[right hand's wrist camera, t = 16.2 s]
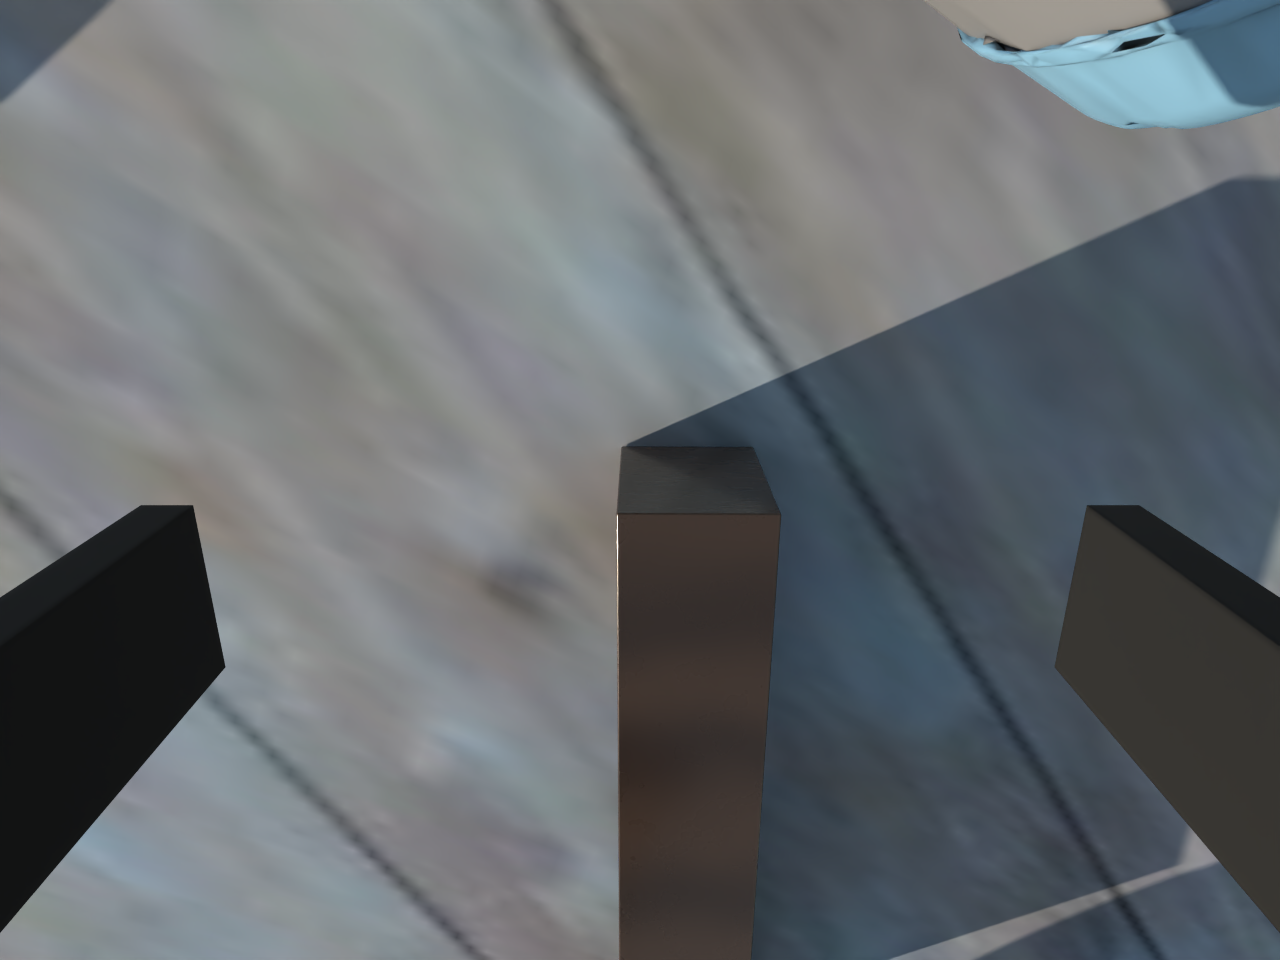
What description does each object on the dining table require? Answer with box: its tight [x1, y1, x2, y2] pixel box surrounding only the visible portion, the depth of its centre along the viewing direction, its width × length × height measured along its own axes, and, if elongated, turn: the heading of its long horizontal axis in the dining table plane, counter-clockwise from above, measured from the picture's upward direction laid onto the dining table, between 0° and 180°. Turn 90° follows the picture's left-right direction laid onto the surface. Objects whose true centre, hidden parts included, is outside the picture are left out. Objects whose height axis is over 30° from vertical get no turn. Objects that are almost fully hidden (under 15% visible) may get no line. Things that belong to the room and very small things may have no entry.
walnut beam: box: [617, 447, 781, 960], centre depth 40 cm, size 36×6×8 cm, turn 0°
